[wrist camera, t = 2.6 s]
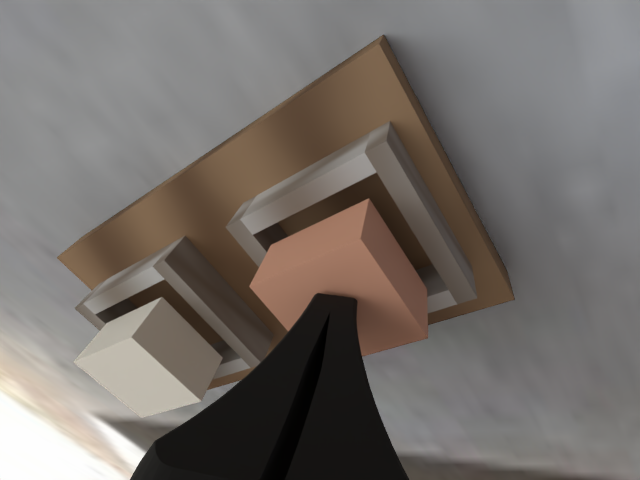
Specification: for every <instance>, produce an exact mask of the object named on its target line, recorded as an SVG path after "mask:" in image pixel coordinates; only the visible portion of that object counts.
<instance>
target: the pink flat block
mask: <svg viewBox="0 0 640 480" xmlns="http://www.w3.org/2000/svg"><path fill="white" fill-rule="evenodd" d="M249 287H250V288H251V289H252V290H253V291H254V293H255V294H256V295H257V296H258V297H259V298H260V300H261V301H262V302H263V303H264V304H265V305H266V306H267V308H268V309H269V310H270V311H271V312H272V313H273V315H274V316H275V317H276V318H277V319H278V320H279V321H280V323H281V324H282V325H283V326H284V327H285V328H286V330H287V331H289V330H290V329H291V328H292V326H293V325H294V324H295V323H296V321H297V320H298V319H299V317H300V316H301V315H302V313H303V312H304V310H305V309H306V307H307V306H308V304H309V303H310V301H311V300H312V298H313V296H314V295H315V294H317V293H322V294H329V295H337V296H344V297H352V298H355V299H356V300H357V301H358V304H357V331H358V338H359V344H360V349H361V355H362V356H366V355H369V354H373V353H376V352H380V351H384V350H387V349H391V348H394V347H398V346H401V345H405V344H409V343H412V342H416V341H419V340H423V339H427V338H428V306H427V288H426V286H425V285H424V283H423V282H422V280H421V279H420V277H419V275H418V274H417V272H416V271H415V269H414V268H413V266H412V264H411V263H410V261H409V260H408V258H407V257H406V255H405V254H404V252H403V250H402V249H401V247H400V246H399V244H398V243H397V241H396V239H395V238H394V236H393V235H392V233H391V232H390V230H389V228H388V227H387V225H386V224H385V222H384V221H383V219H382V217H381V216H380V214H379V213H378V211H377V210H376V208H375V207H374V205H373V203H372V202H371V200H370V199H369V198H368V199H366V200H364V201H362V202H360V203H358V204H356V205H354V206H352V207H350V208H347V209H345V210H343V211H341V212H339V213H337V214H335V215H333V216H331V217H329V218H326V219H324V220H322V221H320V222H318V223H316V224H314V225H312V226H310V227H308V228H305V229H303V230H301V231H299V232H297V233H295V234H293V235H291V236H289V237H287V238H284V239H282V240H280V241H278V242H276V243H274V244H272V245H271V246H270V248H269V250H268V251H267V253H266V255H265V257H264V259H263V261H262V263H261V265H260V267H259V269H258V271H257V272H256V274H255V276H254V278H253V280H252V282H251V284H250V286H249Z"/></svg>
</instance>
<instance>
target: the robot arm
mask: <svg viewBox="0 0 640 480" xmlns="http://www.w3.org/2000/svg"><path fill="white" fill-rule="evenodd" d="M357 304H358V301H357V300H356V299H355V298H352V297H344V296H337V295H329V294H322V293H317V294H315V295H314V296H313V298H312V300H311V301H310V303H309V304H308V306H307V307H306V309H305V310H304V312H303V313H302V315H301V316H300V317H299V319H298V320H297V321H296V323H295V324H294V325H293V326H292V328H291V329H290V330H289V331H288V333H287V334H286V335H285V336H284V337H283V339H282V340H281V341H280V342H279V343H278V344H277V345H276V346H275V348H274V349H273V350H272V351H271V352H270V353H269V354H268V355H267V356H266V357H265V358H264V359H263V360H262V361H261V362H260V363H259V364H258V365H257V366H256V367H255V368H254V369H253V370H252V371H251V372H250V373H249V374H248V375H247V376H246V377H245V378H243V379H242V380H241V381H240V382H239V383H238V384H236V385H235V386H234V387H233V388H232V389H230V390H229V391H228V392H227V393H226V394H224V395H223V396H222V397H220V398H219V399H218V400H217V401H215V402H214V403H212V404H211V405H210V406H208V407H207V408H205V409H204V410H203V411H201V412H200V413H198V414H197V415H196V416H194V417H193V418H191V419H190V420H188V421H187V422H185V423H183V424H182V425H180V426H179V427H177V428H175V429H174V430H172V431H170V432H169V433H167V434H165V435H164V436H162V437H161V438H159V439H157V440H155V441H154V443H153V444H152V446H151V447H150V449H149V450H148V451H147V453H146V454H145V456H144V457H143V458H142V460H141V461H140V463H139V464H138V466H137V468H136V470H135V472H134V473H133V475H132V477H131V479H130V480H409V478H408V476H407V474H406V473H405V471H404V469H403V467H402V465H401V463H400V461H399V459H398V456H397V454H396V452H395V450H394V448H393V446H392V444H391V441H390V439H389V436H388V434H387V432H386V429H385V427H384V425H383V422H382V420H381V417H380V415H379V412H378V409H377V407H376V404H375V401H374V398H373V395H372V392H371V389H370V386H369V382H368V379H367V375H366V371H365V367H364V363H363V359H362V355H361V349H360V344H359V338H358V331H357Z"/></svg>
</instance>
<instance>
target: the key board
mask: <svg viewBox="0 0 640 480" xmlns="http://www.w3.org/2000/svg"><path fill="white" fill-rule="evenodd" d="M368 198H369V199H370V200H371V202H372V203H373V205H374V207H375V208H376V210H377V211H378V213H379V214H380V216H381V217H382V219H383V221H384V222H385V224H386V225H387V227H388V228H389V230H390V232H391V233H392V235H393V236H394V238H395V239H396V241H397V243H398V244H399V246H400V247H401V249H402V250H403V252H404V254H405V255H406V257H407V258H408V260H409V261H410V263H411V264H412V266H413V268H414V269H415V271H416V272H417V274H418V275H419V277H420V279H421V280H422V282H423V283H424V285H425V286H426V288H427V306H428V325H430V324H433V323H436V322H440V321H443V320H447V319H450V318H453V317H457V316H460V315H464V314H467V313H470V312H474V311H477V310H481V309H484V308H487V307H491V306H494V305H498V304H501V303H504V302H508V301H511V300H515V298H514V295H513V291H512V287H511V284H510V280H509V276H508V273H507V270H506V268H505V266H504V264H503V262H502V261H501V259H500V257H499V255H498V253H497V251H496V249H495V247H494V245H493V243H492V241H491V239H490V238H489V236H488V234H487V232H486V230H485V228H484V226H483V224H482V222H481V220H480V218H479V216H478V215H477V213H476V211H475V209H474V207H473V205H472V203H471V201H470V199H469V197H468V195H467V193H466V192H465V190H464V188H463V186H462V184H461V182H460V180H459V178H458V176H457V174H456V172H455V170H454V169H453V167H452V165H451V163H450V161H449V159H448V157H447V155H446V153H445V151H444V149H443V147H442V146H441V144H440V142H439V140H438V138H437V136H436V134H435V132H434V130H433V128H432V126H431V124H430V123H429V121H428V119H427V117H426V115H425V113H424V111H423V109H422V107H421V105H420V103H419V101H418V100H417V98H416V96H415V94H414V92H413V90H412V88H411V86H410V84H409V82H408V80H407V78H406V77H405V75H404V73H403V71H402V69H401V67H400V65H399V63H398V61H397V59H396V57H395V55H394V54H393V52H392V50H391V48H390V46H389V44H388V42H387V40H386V38H385V36H384V35H382V36H381V37H379V38H378V39H376V40H375V41H373V42H372V43H370V44H369V45H367V46H366V47H364V48H363V49H361V50H360V51H358V52H357V53H355V54H354V55H352V56H351V57H349V58H348V59H347V60H345V61H344V62H342V63H341V64H339V65H338V66H336V67H335V68H333V69H332V70H330V71H329V72H327V73H326V74H324V75H323V76H321V77H320V78H318V79H317V80H315V81H314V82H312V83H311V84H309V85H308V86H306V87H305V88H303V89H302V90H300V91H299V92H297V93H296V94H294V95H293V96H291V97H290V98H288V99H287V100H285V101H284V102H282V103H281V104H279V105H278V106H276V107H275V108H273V109H272V110H271V111H269V112H268V113H266V114H265V115H263V116H262V117H260V118H259V119H257V120H256V121H254V122H253V123H251V124H250V125H248V126H247V127H245V128H244V129H242V130H241V131H239V132H238V133H236V134H235V135H233V136H232V137H230V138H229V139H227V140H226V141H224V142H223V143H221V144H220V145H218V146H217V147H215V148H214V149H212V150H211V151H209V152H208V153H206V154H205V155H203V156H202V157H200V158H199V159H198V160H196V161H195V162H193V163H192V164H190V165H189V166H187V167H186V168H184V169H183V170H181V171H180V172H178V173H177V174H175V175H174V176H172V177H171V178H169V179H168V180H166V181H165V182H163V183H162V184H160V185H159V186H157V187H156V188H154V189H153V190H151V191H150V192H148V193H147V194H145V195H144V196H142V197H141V198H139V199H138V200H136V201H135V202H133V203H132V204H130V205H129V206H127V207H126V208H125V209H123V210H122V211H120V212H119V213H117V214H116V215H114V216H113V217H111V218H110V219H108V220H107V221H105V222H104V223H102V224H101V225H99V226H98V227H96V228H95V229H93V230H92V231H90V232H89V233H87V234H86V235H84V236H83V237H81V238H80V239H79V240H78V241H76V242H75V243H74V244H73V245H72V246H70V247H69V248H68V249H67V250H65V251H64V252H63V253H62V254H61V255H59V256H58V257H57V258H58V259H59V260H60V261H61V262H62V263H63V264H64V265H65V266H66V267H67V268H68V269H69V270H70V271H72V272H73V273H74V274H75V275H76V276H77V277H78V278H79V279H80V280H81V281H82V282H83V283H84V284H86V285H87V286H88V287H89V288H90V289H91V290H92V291H91V292H90V293H89V294H88V295H87V296H86V297H85V298H84V299H83V300H82V301H81V302H80V303H79V304H78V305H77V306H76V307H75V309H76V310H77V311H78V312H79V313H80V314H82V315H83V316H84V317H85V318H86V319H87V320H88V321H90V322H91V323H92V324H93V325H94V326H95V327H96V328H97V329H99V330H101V329H102V328H103V327H104V326H105V325H106V323H108V322H110V321H112V320H114V319H117V318H119V317H121V316H123V315H125V314H127V313H129V312H131V311H133V310H135V309H138V308H140V307H142V306H144V305H146V304H148V303H150V302H152V301H154V300H156V299H158V298H161V297H163V298H164V299H165V300H166V301H167V302H168V303H169V304H170V305H171V306H172V307H173V308H174V309H175V310H176V311H177V312H178V313H179V314H180V315H181V316H182V317H183V318H184V319H185V320H186V321H187V322H188V323H189V324H190V325H191V326H192V327H193V328H194V329H195V330H196V331H197V332H198V333H199V334H200V335H201V336H202V337H203V338H204V339H205V340H206V341H207V342H208V343H209V344H210V345H211V346H212V347H213V348H214V349H215V350H216V351H217V352H218V353H219V354H220V355H221V356H222V357H223V359H222V361H221V363H220V365H219V367H218V369H217V371H216V373H215V375H214V377H213V379H212V381H211V383H210V385H209V387H208V389H207V390H209V389H212V388H215V387H219V386H222V385H226V384H229V383H232V382H236V381H239V380H242V379H243V378H245V377H246V376H247V375H248V374H249V373H250V372H251V371H252V370H253V369H254V368H255V367H256V366H257V365H258V364H259V363H260V362H261V361H262V360H263V359H264V358H265V357H266V356H267V355H268V354H269V353H270V352H271V351H272V350H273V349H274V348H275V346H276V345H277V344H278V343H279V342H280V341H281V340H282V339H283V337H284V336H285V335H286V334H287V333H288V331H287V330H286V328H285V327H284V326H283V325H282V324H281V323H280V321H279V320H278V319H277V318H276V317H275V316H274V315H273V313H272V312H271V311H270V310H269V309H268V308H267V306H266V305H265V304H264V303H263V302H262V301H261V300H260V298H259V297H258V296H257V295H256V294H255V293H254V291H253V290H252V289H251V288H250V287H249V286H250V284H251V282H252V280H253V278H254V276H255V274H256V272H257V271H258V269H259V267H260V265H261V263H262V261H263V259H264V257H265V255H266V253H267V251H268V250H269V248H270V246H271V245H272V244H274V243H276V242H278V241H280V240H282V239H284V238H287V237H289V236H291V235H293V234H295V233H297V232H299V231H301V230H303V229H305V228H308V227H310V226H312V225H314V224H316V223H318V222H320V221H322V220H324V219H326V218H329V217H331V216H333V215H335V214H337V213H339V212H341V211H343V210H345V209H347V208H350V207H352V206H354V205H356V204H358V203H360V202H362V201H364V200H366V199H368Z"/></svg>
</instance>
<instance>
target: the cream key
mask: <svg viewBox="0 0 640 480" xmlns="http://www.w3.org/2000/svg"><path fill="white" fill-rule="evenodd" d="M222 359H223V357H222V356H221V355H220V354H219V353H218V352H217V351H216V350H215V349H214V348H213V347H212V346H211V345H210V344H209V343H208V342H207V341H206V340H205V339H204V338H203V337H202V336H201V335H200V334H199V333H198V332H197V331H196V330H195V329H194V328H193V327H192V326H191V325H190V324H189V323H188V322H187V321H186V320H185V319H184V318H183V317H182V316H181V315H180V314H179V313H178V312H177V311H176V310H175V309H174V308H173V307H172V306H171V305H170V304H169V303H168V302H167V301H166V300H165V299H164V298H163V297H161V298H158V299H156V300H154V301H152V302H150V303H148V304H146V305H144V306H142V307H140V308H138V309H135V310H133V311H131V312H129V313H127V314H125V315H123V316H121V317H119V318H117V319H114V320H112V321H110V322H108V323H106V325H105V326H104V327H103V328H102V329H101V330H100V332H99V333H98V334H97V335H96V336H95V337H94V339H93V340H92V341H91V342H90V343H89V344H88V346H87V347H86V348H85V349H84V350H83V351H82V352H81V354H80V355H79V356H78V357H77V358H76V359H75V361H74V363H75V364H76V365H77V366H79V367H80V368H81V369H82V370H83V371H85V372H86V373H87V374H88V375H89V376H91V377H92V378H93V379H94V380H96V381H97V382H98V383H99V384H100V385H102V386H103V387H104V388H105V389H107V390H108V391H109V392H110V393H111V394H113V395H114V396H115V397H116V398H117V399H119V400H120V401H121V402H122V403H124V404H125V405H126V406H127V407H128V408H130V409H131V410H132V411H133V412H135V413H136V414H137V415H138V416H139V417H141V418H143V417H147V416H150V415H154V414H157V413H161V412H165V411H168V410H172V409H175V408H179V407H182V406H186V405H190V404H193V403H197V402H200V401H202V399H203V397H204V395H205V393H206V391H207V389H208V387H209V385H210V383H211V381H212V379H213V377H214V375H215V373H216V371H217V369H218V367H219V365H220V363H221V361H222Z"/></svg>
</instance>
